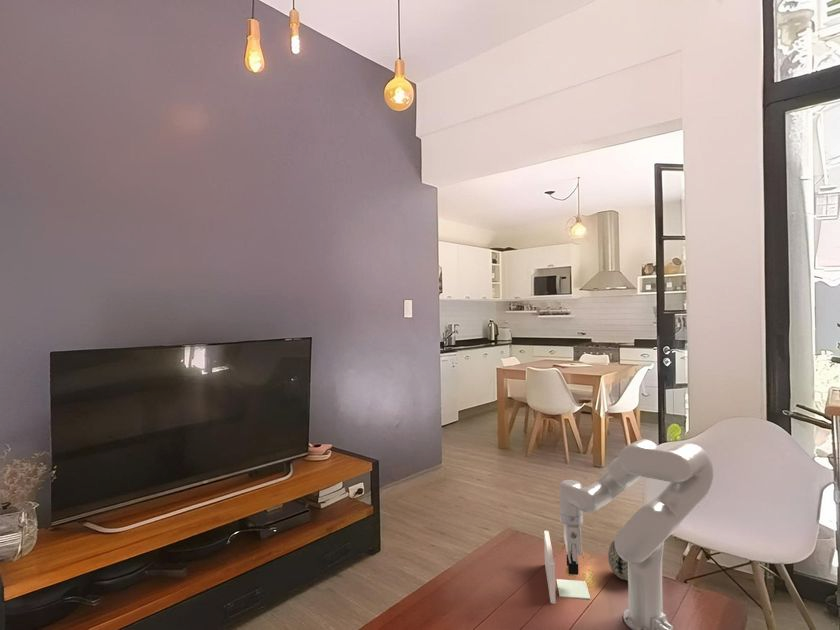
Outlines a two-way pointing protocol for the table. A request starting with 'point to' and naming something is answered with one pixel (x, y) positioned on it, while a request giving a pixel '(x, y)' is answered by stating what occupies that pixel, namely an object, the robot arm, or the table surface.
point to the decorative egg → (617, 563)
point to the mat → (573, 589)
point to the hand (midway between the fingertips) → (572, 569)
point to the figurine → (567, 566)
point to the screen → (549, 567)
